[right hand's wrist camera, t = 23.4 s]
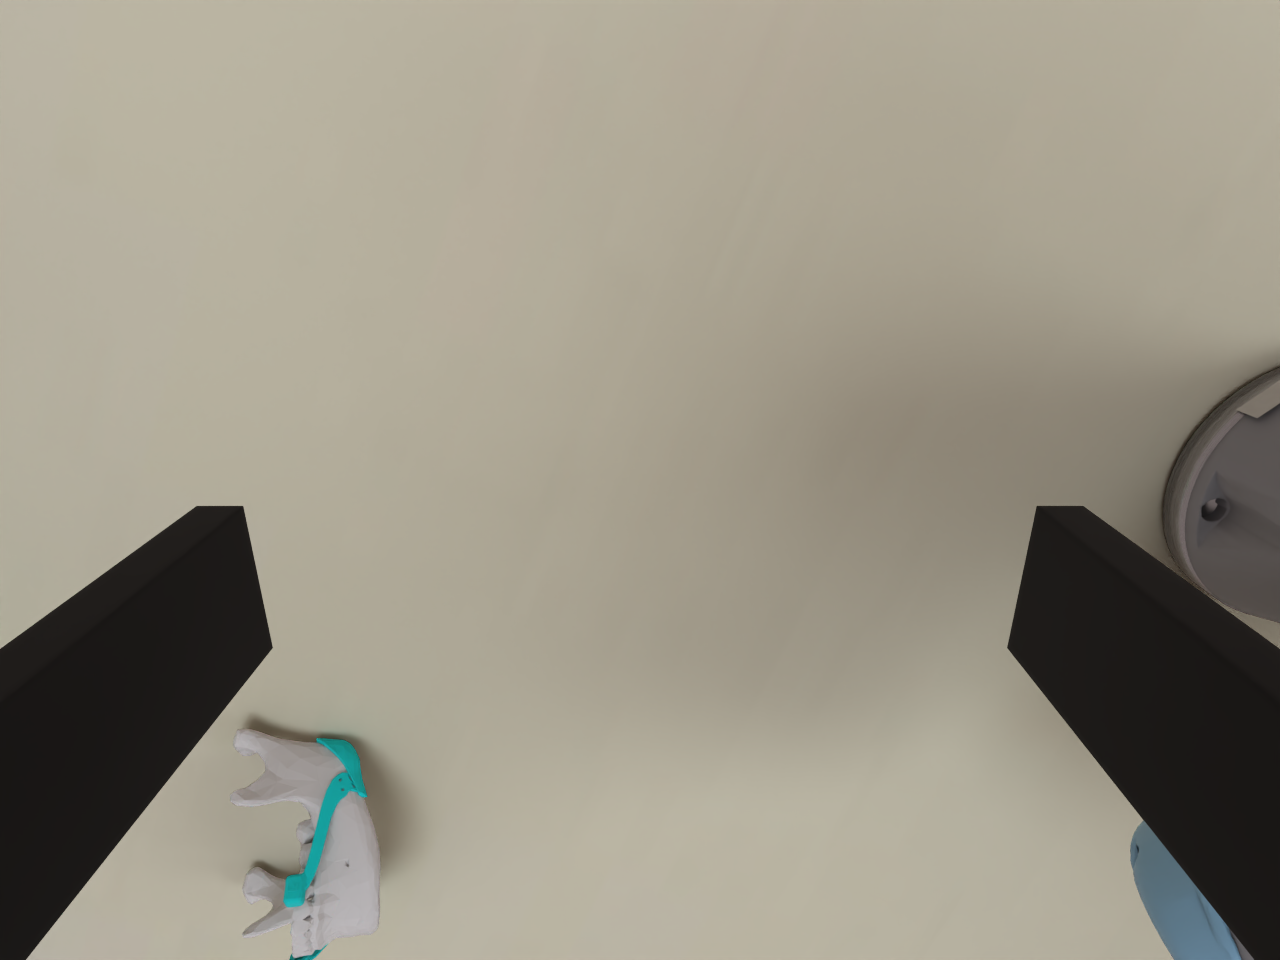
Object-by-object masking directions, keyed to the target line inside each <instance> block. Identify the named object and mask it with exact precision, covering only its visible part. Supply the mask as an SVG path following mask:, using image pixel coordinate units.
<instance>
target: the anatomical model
mask: <svg viewBox="0 0 1280 960" xmlns="http://www.w3.org/2000/svg"><path fill="white" fill-rule="evenodd" d="M316 739H317V742H301V741H294V740H286V739H280V738H276V737H273V736H270V735H267V734H265V733H262V732H259V731H255V730H252V729H238V730H237V732H236V734H235V737H234V742H233V746H234V748H235V749H236V750H237V751H238V752H239V753H240V754H241V755H243V756H250V755H253V754H255V753H258V754H259V755H260V757H261V758H262V759H263V761H264V763H265V769H266V770H265V772H264V773H263V774H262V775H261V776H260V777H259V778H258V779H257V780H256V781H255V782H253V783H252V784H250V785H249V786H248V787H246V788H243V789H239V790H236V791H234V792H233V793H232V794H231V795H230V801H231V802H232V803H233V804H235V805H237V806H247V807H254V806H261V805H267V804H271V803H275V802H279V801H295V802H300V803H301V804H302V805H303V807H304V808H305V809H306V810H307V811H308V812H309V815H310V817H311V819H309V820H305V821H303V822H300V823H299V824H298V827H297V831H296V834H297V837H298V840H299V841H300V842H301V851H300V856H299V863H300V865H301V869H300V872H299V874H296V875H290V876H288V877H287V878H286V879H281V878H278V877H275V876H273V875H271V874H269V873H268V872H266V871H265V870H263V869H262V868H260V867H254V868H252V869H251V870H250V871H249V872H248V873H247V874H246V877H245V880H244V884H243V888H242V890H243V894H244V896H245V898H246V899H247V901H248V903H250V904H253V903H255V902H257V901H259V900H261V899H266V900H268V901H270V902H272V904H273V907H272V910H271V911H270V912H269V913H268V914H267V915H266V916H264V917H263V918H261V919H260V920H258V921H256V922H255V923H253V924H252V925H250V926H249V927H248V928H247V929H245V931H244V932H243V934H242V935H243V938H249V937H256V936H258V935H261V934H264V933H266V932H269V931H272V930H274V929H277V928H280V927H282V926H285V925H287V924H290V923H291V936H292V954H291V956H290V959H289V960H312V959H314V958H315V957H316V956H317V955H318V954H319V953H320V952H321V951H322V950H323V949H324V948H325V947H326V946H327V945H328V943H330V942H331V941H332V940H334V939H335V938H341V937H354V936H358V935H371V934H372V933H374V932H375V931H376V930H377V929H378V925H379V914H380V895H379V891H380V870H381V864H380V849H379V845H378V840H377V836H376V831H375V827H374V824H373V822H372V819H371V816H370V813H369V810H368V808H367V805H366V802H365V799H364V797H367V793H366V790H365V787H364V783H363V780H362V774H361V768H360V759H359V757H358V754H357V752H356V750H355V749H354V747H353V746H352V745H351V744H350V743H349V742H347V741H345V740H337V739H326V738H316Z"/></svg>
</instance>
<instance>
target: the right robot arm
mask: <svg viewBox="0 0 1280 960" xmlns="http://www.w3.org/2000/svg"><path fill="white" fill-rule="evenodd" d="M1163 525H1164V532H1165V538H1166V541H1167V544H1168V548H1169V550H1170V552H1171V554H1172V556H1173V559H1174V560H1175V562H1176V563H1177V565H1178V566H1179V568H1180V569H1181V570H1182V571H1183V572H1184V574H1185V575H1186V576H1187V577H1188V578H1190V579H1191V580H1192V581H1193V582H1194V583H1195V584H1197V585H1198V586H1200V587H1201V588H1202V589H1204V590H1205V591H1207V592H1208V593H1209V594H1211V595H1212V596H1214V597H1215V598H1216V599H1218V600H1219V601H1221V602H1222V603H1224V604H1225V605H1227V606H1229V607H1231V608H1233V609H1235V610H1238V611H1241V612H1243V613H1246V614H1250V615H1254V616H1257V617H1261V618H1264V619H1268V620H1271V621H1275V622H1278V623H1280V367H1279V368H1277V369H1275V370H1272V371H1270V372H1268V373H1266V374H1264V375H1262V376H1261V377H1259V378H1257V379H1255V380H1253V381H1252V382H1250V383H1249V384H1247V385H1246V386H1244V387H1243V388H1241V389H1240V390H1238V391H1237V392H1236V393H1234V394H1233V395H1232V396H1230V397H1229V398H1228V399H1226V400H1225V401H1224V402H1223V403H1222V404H1221V405H1220V406H1219V407H1217V408H1216V409H1215V410H1214V411H1213V412H1212V413H1211V414H1210V415H1209V416H1208V417H1207V418H1206V419H1205V421H1204V422H1203V423H1202V424H1201V425H1200V427H1199V428H1198V429H1197V430H1196V431H1195V433H1194V434H1193V435H1192V437H1191V438H1190V440H1189V441H1188V443H1187V444H1186V446H1185V447H1184V449H1183V451H1182V452H1181V454H1180V456H1179V458H1178V460H1177V462H1176V464H1175V466H1174V468H1173V471H1172V473H1171V476H1170V479H1169V482H1168V486H1167V489H1166V493H1165V499H1164V506H1163ZM272 648H273V647H272V642H271V637H270V633H269V628H268V623H267V618H266V613H265V609H264V604H263V599H262V594H261V589H260V585H259V580H258V575H257V570H256V565H255V561H254V556H253V551H252V546H251V541H250V537H249V532H248V527H247V522H246V517H245V513H244V508H243V506H196V507H195V508H193V509H192V510H191V511H189V512H188V513H187V514H185V515H184V516H182V517H181V518H180V519H178V520H177V521H176V522H174V523H173V524H171V525H170V526H169V527H167V528H166V529H165V530H163V531H162V532H160V533H159V534H158V535H156V536H155V537H154V538H152V539H151V540H149V541H148V542H147V543H145V544H144V545H143V546H141V547H140V548H138V549H137V550H136V551H134V552H133V553H132V554H130V555H129V556H127V557H126V558H125V559H123V560H122V561H121V562H119V563H118V564H116V565H115V566H114V567H112V568H111V569H110V570H108V571H107V572H105V573H104V574H103V575H101V576H100V577H99V578H97V579H96V580H94V581H93V582H92V583H90V584H89V585H88V586H86V587H85V588H83V589H82V590H81V591H79V592H78V593H77V594H75V595H74V596H72V597H71V598H70V599H68V600H67V601H66V602H64V603H63V604H61V605H60V606H59V607H57V608H56V609H55V610H53V611H52V612H50V613H49V614H48V615H46V616H45V617H44V618H42V619H41V620H39V621H38V622H37V623H35V624H34V625H33V626H31V627H30V628H28V629H27V630H26V631H24V632H23V633H22V634H20V635H19V636H17V637H16V638H15V639H13V640H12V641H11V642H9V643H8V644H6V645H5V646H4V647H2V648H1V649H0V960H26V959H27V958H28V956H29V955H30V954H31V953H32V951H33V950H34V949H35V947H36V946H37V945H38V944H39V942H40V941H41V940H42V939H43V937H44V936H45V935H46V934H47V932H48V931H49V930H50V929H51V927H52V926H53V925H54V923H55V922H56V921H57V920H58V918H59V917H60V916H61V915H62V913H63V912H64V911H65V910H66V908H67V907H68V906H69V905H70V903H71V902H72V901H73V899H74V898H75V897H76V896H77V894H78V893H79V892H80V891H81V889H82V888H83V887H84V886H85V884H86V883H87V882H88V881H89V879H90V878H91V877H92V875H93V874H94V873H95V872H96V870H97V869H98V868H99V867H100V865H101V864H102V863H103V862H104V860H105V859H106V858H107V857H108V855H109V854H110V853H111V851H112V850H113V849H114V848H115V846H116V845H117V844H118V843H119V841H120V840H121V839H122V838H123V836H124V835H125V834H126V833H127V831H128V830H129V829H130V827H131V826H132V825H133V824H134V822H135V821H136V820H137V819H138V817H139V816H140V815H141V814H142V812H143V811H144V810H145V809H146V807H147V806H148V805H149V803H150V802H151V801H152V800H153V798H154V797H155V796H156V795H157V793H158V792H159V791H160V790H161V788H162V787H163V786H164V784H165V783H166V782H167V781H168V779H169V778H170V777H171V776H172V774H173V773H174V772H175V771H176V769H177V768H178V767H179V766H180V764H181V763H182V762H183V760H184V759H185V758H186V757H187V755H188V754H189V753H190V752H191V750H192V749H193V748H194V747H195V745H196V744H197V743H198V742H199V740H200V739H201V738H202V736H203V735H204V734H205V733H206V731H207V730H208V729H209V728H210V726H211V725H212V724H213V723H214V721H215V720H216V719H217V718H218V716H219V715H220V714H221V712H222V711H223V710H224V709H225V707H226V706H227V705H228V704H229V702H230V701H231V700H232V699H233V697H234V696H235V695H236V694H237V692H238V691H239V690H240V688H241V687H242V686H243V685H244V683H245V682H246V681H247V680H248V678H249V677H250V676H251V675H252V673H253V672H254V671H255V670H256V668H257V667H258V666H259V664H260V663H261V662H262V661H263V659H264V658H265V657H266V656H267V654H268V653H269V652H270V651H271V649H272ZM1007 648H1008V649H1009V651H1010V652H1011V653H1012V654H1013V656H1014V657H1015V658H1016V659H1017V661H1018V662H1019V663H1020V664H1021V666H1022V667H1023V668H1024V670H1025V671H1026V672H1027V673H1028V675H1029V676H1030V677H1031V678H1032V680H1033V681H1034V682H1035V683H1036V685H1037V686H1038V687H1039V688H1040V690H1041V691H1042V692H1043V694H1044V695H1045V696H1046V697H1047V699H1048V700H1049V701H1050V702H1051V704H1052V705H1053V706H1054V707H1055V709H1056V710H1057V711H1058V712H1059V714H1060V715H1061V716H1062V718H1063V719H1064V720H1065V721H1066V723H1067V724H1068V725H1069V726H1070V728H1071V729H1072V730H1073V731H1074V733H1075V734H1076V735H1077V736H1078V738H1079V739H1080V740H1081V742H1082V743H1083V744H1084V745H1085V747H1086V748H1087V749H1088V750H1089V752H1090V753H1091V754H1092V755H1093V757H1094V758H1095V759H1096V760H1097V762H1098V763H1099V764H1100V766H1101V767H1102V768H1103V769H1104V771H1105V772H1106V773H1107V774H1108V776H1109V777H1110V778H1111V779H1112V781H1113V782H1114V783H1115V784H1116V786H1117V787H1118V788H1119V790H1120V791H1121V792H1122V793H1123V795H1124V796H1125V797H1126V798H1127V800H1128V801H1129V802H1130V803H1131V805H1132V806H1133V807H1134V809H1135V810H1136V811H1137V812H1138V814H1139V815H1140V816H1141V817H1142V819H1143V822H1142V823H1141V824H1140V825H1139V826H1138V827H1137V829H1136V831H1135V833H1134V835H1133V838H1132V842H1131V848H1130V852H1131V865H1132V868H1133V874H1134V880H1135V883H1136V886H1137V889H1138V892H1139V894H1140V897H1141V899H1142V902H1143V904H1144V906H1145V908H1146V911H1147V913H1148V915H1149V917H1150V919H1151V921H1152V923H1153V924H1154V926H1155V928H1156V930H1157V932H1158V934H1159V935H1160V937H1161V939H1162V941H1163V942H1164V944H1165V946H1166V947H1167V949H1168V951H1169V952H1170V954H1171V956H1172V957H1173V959H1174V960H1280V649H1279V648H1278V647H1276V646H1275V645H1273V644H1272V643H1271V642H1269V641H1268V640H1267V639H1265V638H1264V637H1263V636H1261V635H1260V634H1258V633H1257V632H1256V631H1254V630H1253V629H1252V628H1250V627H1249V626H1247V625H1246V624H1245V623H1243V622H1242V621H1241V620H1239V619H1238V618H1236V617H1235V616H1234V615H1232V614H1231V613H1230V612H1228V611H1227V610H1225V609H1224V608H1223V607H1221V606H1220V605H1219V604H1217V603H1216V602H1214V601H1213V600H1212V599H1210V598H1209V597H1208V596H1206V595H1205V594H1203V593H1202V592H1201V591H1199V590H1198V589H1197V588H1195V587H1194V586H1192V585H1191V584H1190V583H1188V582H1187V581H1186V580H1184V579H1183V578H1181V577H1180V576H1179V575H1177V574H1176V573H1175V572H1173V571H1172V570H1170V569H1169V568H1168V567H1166V566H1165V565H1164V564H1162V563H1161V562H1159V561H1158V560H1157V559H1155V558H1154V557H1153V556H1151V555H1150V554H1148V553H1147V552H1146V551H1144V550H1143V549H1142V548H1140V547H1139V546H1137V545H1136V544H1135V543H1133V542H1132V541H1131V540H1129V539H1128V538H1126V537H1125V536H1124V535H1122V534H1121V533H1120V532H1118V531H1117V530H1115V529H1114V528H1113V527H1111V526H1110V525H1109V524H1107V523H1106V522H1104V521H1103V520H1102V519H1100V518H1099V517H1098V516H1096V515H1095V514H1093V513H1092V512H1091V511H1089V510H1088V509H1087V508H1085V507H1084V506H1037V508H1036V513H1035V517H1034V522H1033V527H1032V532H1031V537H1030V541H1029V546H1028V551H1027V556H1026V561H1025V565H1024V570H1023V575H1022V580H1021V585H1020V589H1019V594H1018V599H1017V604H1016V609H1015V613H1014V618H1013V623H1012V628H1011V633H1010V637H1009V642H1008V647H1007Z"/></svg>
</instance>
